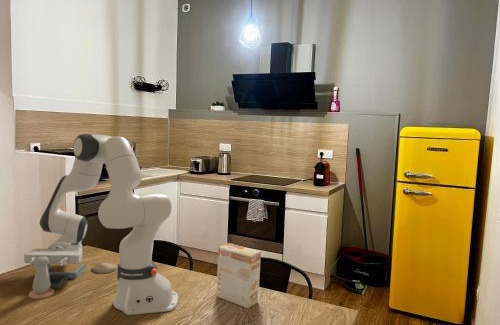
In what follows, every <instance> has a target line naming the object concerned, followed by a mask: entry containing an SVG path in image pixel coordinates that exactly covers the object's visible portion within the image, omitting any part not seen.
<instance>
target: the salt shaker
mask: <svg viewBox="0 0 500 325" xmlns="http://www.w3.org/2000/svg"><path fill="white" fill-rule="evenodd" d="M48 262H49V259H48V258H47V257H45V256H42V257H38V258H36V259H35V266H36V267H35V272H34V278H33V282H32V283H33V284H32V288H31V289H32V291H33V290H34V292H35V293H36V294H39V295H41V294H45V293H47V292H48V290H49V288H50V286H51V283H50V278H49V273H48V272H49V270H48V268H47V264H48Z"/></svg>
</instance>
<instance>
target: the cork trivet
mask: <svg viewBox="0 0 500 325" xmlns="http://www.w3.org/2000/svg"><path fill="white" fill-rule="evenodd" d="M117 267H118V264H116V263H114V262H100V263H96V264H95V265H93V266H92V272H93V273H94V274H103V275H104V274H105V275H106V274H110V273H115V271H116V272H117Z"/></svg>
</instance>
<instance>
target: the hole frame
mask: <svg viewBox="0 0 500 325" xmlns="http://www.w3.org/2000/svg"><path fill="white" fill-rule="evenodd" d="M49 278H50V283H51V286H50V288H52V289H54V290H59V289H60V288H62V286H63V285H64V284H65V283H66V282H67V281H68V280H69V278H68V275H49Z"/></svg>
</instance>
